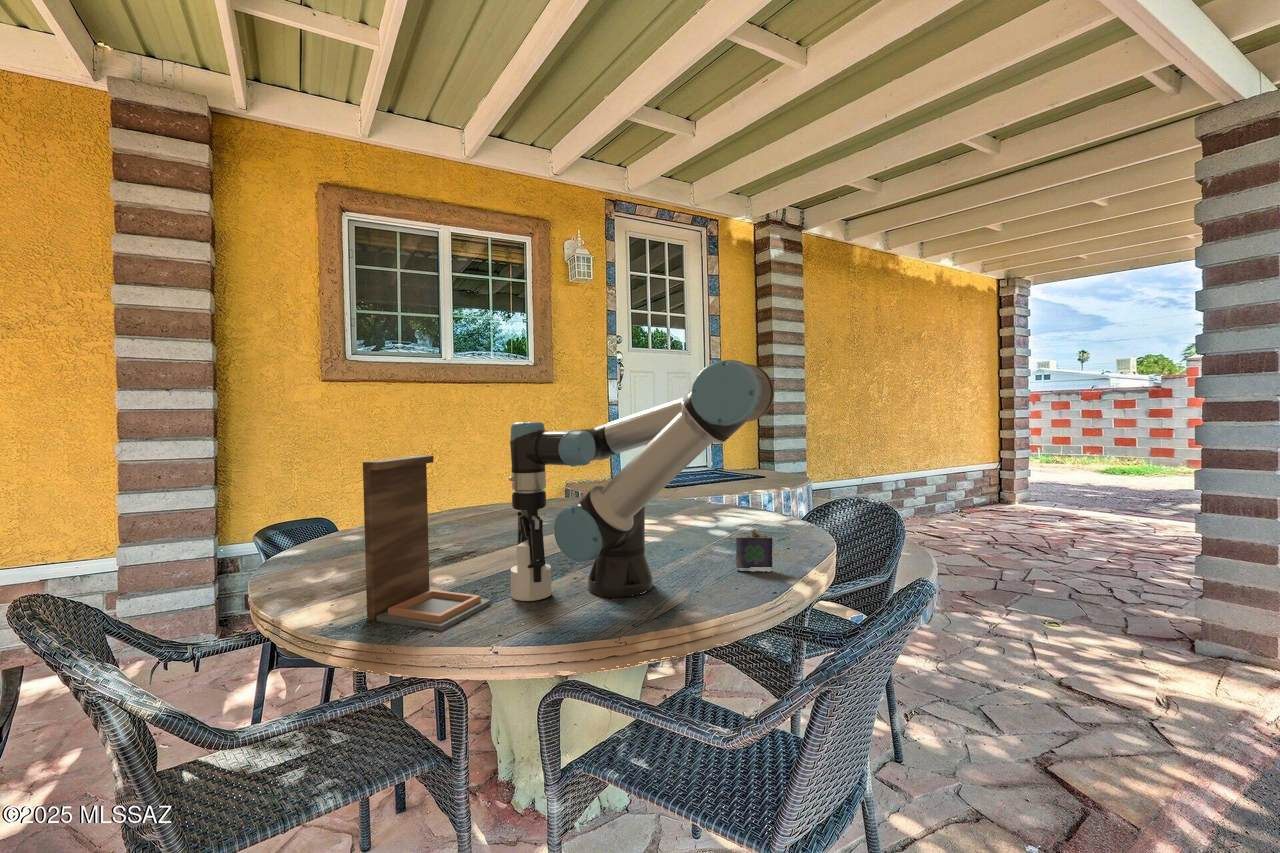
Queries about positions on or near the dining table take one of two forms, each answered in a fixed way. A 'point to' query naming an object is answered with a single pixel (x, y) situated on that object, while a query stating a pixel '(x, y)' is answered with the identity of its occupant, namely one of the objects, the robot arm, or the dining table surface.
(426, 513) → the brown wooden panel
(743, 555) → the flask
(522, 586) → the cylinder with rectangular tab
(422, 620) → the square coaster tray
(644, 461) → the robot arm
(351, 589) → the dining table surface
